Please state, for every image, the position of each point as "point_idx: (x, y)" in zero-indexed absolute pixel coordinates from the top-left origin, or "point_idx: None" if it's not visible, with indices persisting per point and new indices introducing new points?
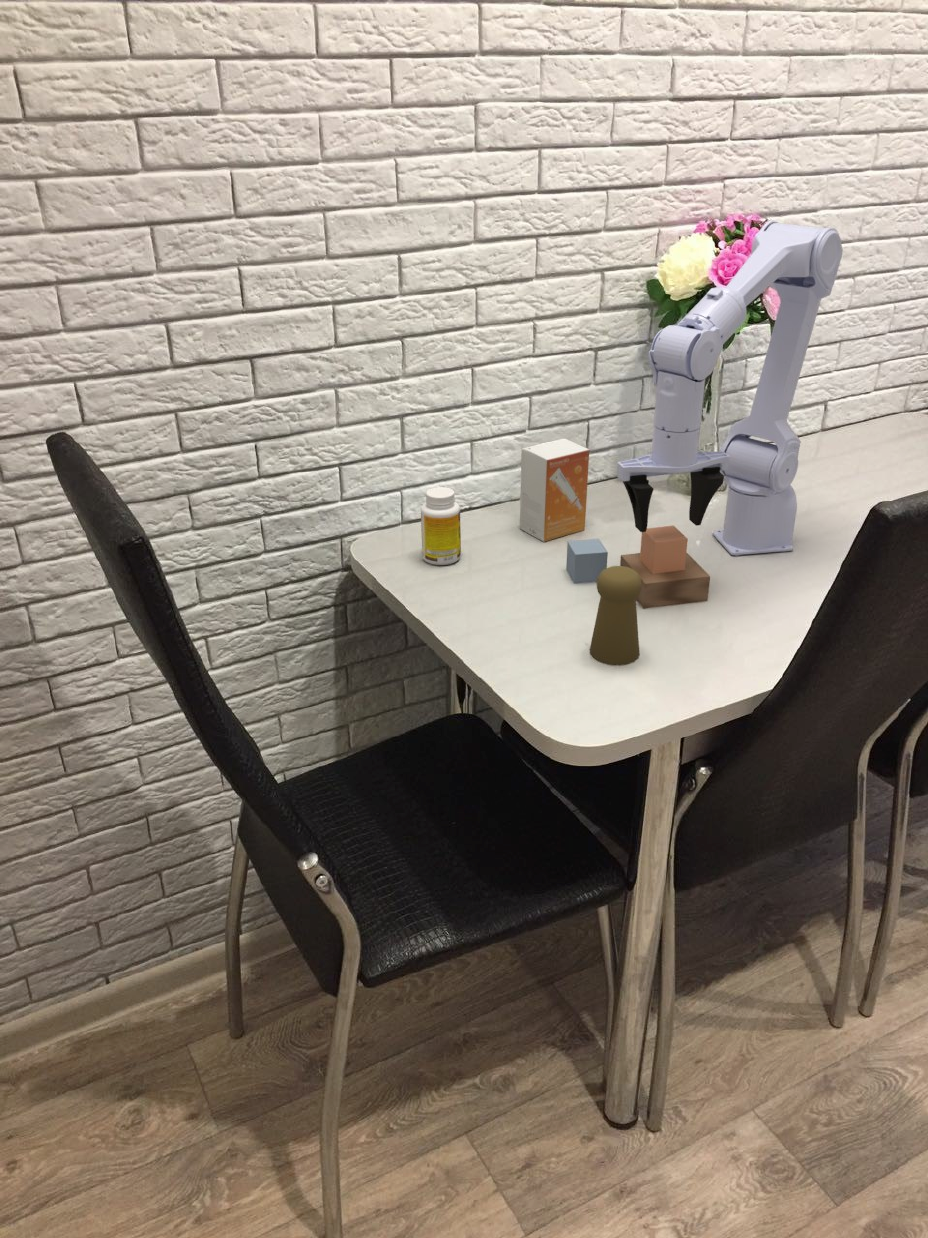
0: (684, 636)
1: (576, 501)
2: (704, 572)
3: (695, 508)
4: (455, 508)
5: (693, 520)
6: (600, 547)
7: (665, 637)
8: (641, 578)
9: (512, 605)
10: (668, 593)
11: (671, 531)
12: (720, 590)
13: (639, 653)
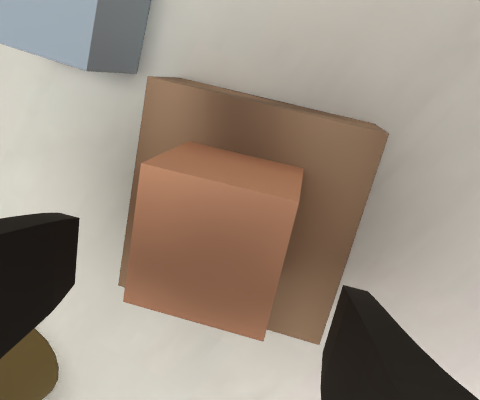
0: (167, 386)
1: None
2: (321, 318)
3: (338, 384)
4: None
5: (331, 334)
6: (78, 19)
7: (130, 369)
8: (125, 253)
9: None
10: None
11: (246, 250)
12: (394, 274)
13: (48, 393)
